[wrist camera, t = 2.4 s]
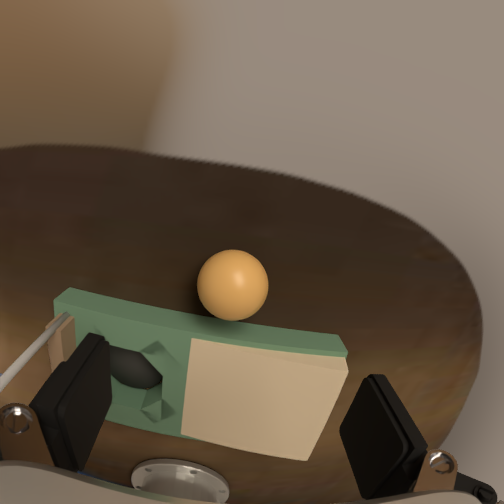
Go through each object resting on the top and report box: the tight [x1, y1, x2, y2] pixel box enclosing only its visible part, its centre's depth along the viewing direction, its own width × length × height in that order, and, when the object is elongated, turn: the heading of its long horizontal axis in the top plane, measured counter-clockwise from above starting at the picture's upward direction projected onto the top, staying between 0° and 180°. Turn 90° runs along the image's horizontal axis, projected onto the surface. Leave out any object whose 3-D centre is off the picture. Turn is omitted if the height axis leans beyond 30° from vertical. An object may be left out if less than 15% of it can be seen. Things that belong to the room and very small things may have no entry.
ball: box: [197, 250, 268, 321], centre depth 22 cm, size 5×5×5 cm
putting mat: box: [0, 287, 349, 461], centre depth 20 cm, size 25×12×14 cm, turn 79°
